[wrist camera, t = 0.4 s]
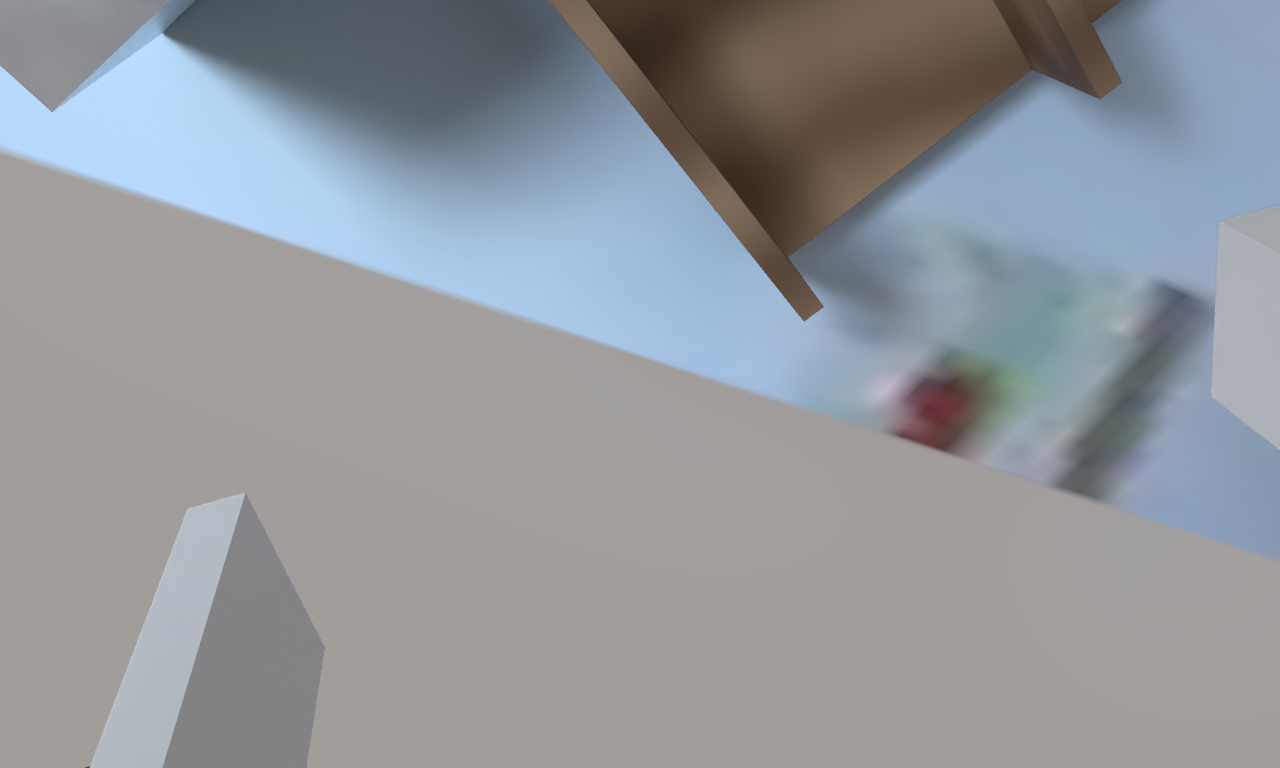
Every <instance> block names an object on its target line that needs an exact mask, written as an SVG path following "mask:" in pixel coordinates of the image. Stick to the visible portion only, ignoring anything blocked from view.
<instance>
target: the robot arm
mask: <svg viewBox="0 0 1280 768" xmlns="http://www.w3.org/2000/svg"><path fill="white" fill-rule="evenodd" d="M1211 397H1212V398H1213V399H1214V400H1216V401H1217V402H1218V403H1220V404H1221V405H1222V406H1223V407H1225V408H1226V409H1227V410H1228V411H1230V412H1231V413H1232V414H1234V415H1235V416H1236V417H1237V418H1239V419H1240V420H1241V421H1243V422H1244V423H1245V424H1246V425H1248V426H1249V427H1250V428H1251V429H1253V430H1254V431H1255V432H1257V433H1258V434H1259V435H1260V436H1262V437H1263V438H1264V439H1266V440H1267V441H1268V442H1269V443H1271V444H1272V445H1273V446H1275V447H1276V448H1277V449H1278V450H1280V208H1279V207H1277V206H1275V205H1274V206H1271V207H1267V208H1264V209H1260V210H1256V211H1253V212H1249V213H1246V214H1242V215H1239V216H1235V217H1231V218H1228V219H1224V220H1221V221H1219V234H1218V255H1217V277H1216V298H1215V319H1214V341H1213V362H1212V384H1211ZM324 649H325V647H324V645H323V643H322V641H321V639H320V637H319V635H318V633H317V631H316V629H315V627H314V625H313V623H312V621H311V619H310V617H309V615H308V613H307V612H306V609H305V608H304V606H303V604H302V602H301V600H300V598H299V596H298V594H297V592H296V590H295V588H294V586H293V584H292V582H291V580H290V578H289V576H288V574H287V572H286V571H285V568H284V566H283V564H282V563H281V561H280V559H279V557H278V555H277V553H276V551H275V549H274V547H273V545H272V543H271V541H270V539H269V537H268V535H267V533H266V531H265V529H264V527H263V525H262V523H261V521H260V519H259V518H258V516H257V514H256V512H255V510H254V508H253V506H252V504H251V502H250V500H249V498H248V496H247V494H246V493H242V494H238V495H235V496H231V497H228V498H224V499H221V500H217V501H213V502H210V503H207V504H203V505H199V506H196V507H192V508H188V509H187V512H186V514H185V517H184V520H183V522H182V525H181V528H180V530H179V533H178V536H177V538H176V541H175V543H174V546H173V549H172V551H171V554H170V557H169V559H168V562H167V565H166V567H165V570H164V572H163V575H162V578H161V580H160V583H159V586H158V589H157V591H156V594H155V596H154V599H153V602H152V604H151V607H150V610H149V612H148V615H147V617H146V620H145V623H144V626H143V628H142V631H141V633H140V636H139V639H138V641H137V644H136V646H135V649H134V652H133V654H132V657H131V660H130V662H129V665H128V668H127V670H126V673H125V676H124V678H123V681H122V684H121V686H120V689H119V691H118V694H117V697H116V700H115V702H114V705H113V707H112V710H111V713H110V715H109V718H108V721H107V723H106V726H105V729H104V731H103V734H102V737H101V739H100V742H99V744H98V747H97V750H96V752H95V755H94V758H93V760H92V763H91V765H90V767H86V768H306V767H307V760H308V753H309V747H310V741H311V734H312V728H313V721H314V715H315V708H316V701H317V695H318V688H319V682H320V675H321V669H322V662H323V656H324Z"/></svg>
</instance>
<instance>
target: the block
mask: <svg viewBox="0 0 1280 768" xmlns="http://www.w3.org/2000/svg"><path fill="white" fill-rule="evenodd" d="M195 1H196V0H0V66H1V67H3V68H4V69H5V70H6V71H7V72H8V73H9V74H10V75H11V76H13V77H14V78H15V79H16V80H17V81H18V82H19V83H20V84H21V85H23V86H24V87H25V88H26V89H27V90H28V91H29V92H30V93H31V94H33V95H34V96H35V97H36V98H37V99H38V100H39V101H40V102H41V103H43V104H44V105H45V106H46V107H47V108H48V109H49V110H50V111H51V112H53V111H54V110H56V109H57V108H58V107H60V106H61V105H63V104H64V103H65V102H67V101H68V100H70V99H71V98H72V97H74V96H75V95H77V94H78V93H79V92H81V91H82V90H84V89H85V88H86V87H88V86H89V85H91V84H92V83H93V82H95V81H96V80H97V79H99V78H100V77H102V76H103V75H104V74H106V73H107V72H109V71H110V70H111V69H113V68H114V67H116V66H117V65H118V64H120V63H121V62H123V61H124V60H125V59H127V58H128V57H130V56H131V55H132V54H134V53H135V52H137V51H138V50H139V49H141V48H142V47H144V46H145V45H146V44H148V43H149V42H150V41H152V40H153V39H155V38H156V37H157V36H159V35H160V34H161V33H162V32H163V31H164V30H165V29H166V28H167V27H169V26H170V25H171V24H172V23H173V22H174V21H175V20H176V19H177V18H178V17H179V16H180V15H181V14H182V13H183V12H184V11H185V10H187V9H188V8H189V7H190V6H191V5H192V4H193V3H194V2H195Z"/></svg>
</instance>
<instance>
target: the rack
mask: <svg viewBox="0 0 1280 768" xmlns="http://www.w3.org/2000/svg"><path fill="white" fill-rule="evenodd" d="M549 1H550V2H551V4H552V5H553V6H554V7H555V9H556V10H557V11H558V12H559V14H560V15H561V16H562V17H563V19H564V20H565V21H566V22H567V24H568V25H569V26H570V28H571V29H572V30H573V31H574V33H575V34H576V35H577V36H578V38H579V39H580V40H581V41H582V43H583V44H584V45H585V46H586V48H587V49H588V50H589V51H590V53H591V54H592V55H593V56H594V58H595V59H596V60H597V62H598V63H599V64H600V65H601V67H602V68H603V69H604V70H605V72H606V73H607V74H608V75H609V77H610V78H611V79H612V80H613V82H614V83H615V84H616V85H617V87H618V88H619V89H620V90H621V92H622V93H623V94H624V96H625V97H626V98H627V99H628V101H629V102H630V103H631V104H632V106H633V107H634V108H635V109H636V111H637V112H638V113H639V114H640V116H641V117H642V118H643V119H644V121H645V122H646V123H647V124H648V126H649V127H650V128H651V129H652V131H653V132H654V133H655V135H656V136H657V137H658V138H659V140H660V141H661V142H662V143H663V145H664V146H665V147H666V148H667V150H668V151H669V152H670V153H671V155H672V156H673V157H674V158H675V160H676V161H677V162H678V163H679V165H680V166H681V167H682V169H683V170H684V171H685V172H686V174H687V175H688V176H689V177H690V179H691V180H692V181H693V182H694V184H695V185H696V186H697V187H698V189H699V190H700V191H701V192H702V194H703V195H704V196H705V197H706V199H707V200H708V201H709V203H710V204H711V205H712V206H713V208H714V209H715V210H716V211H717V213H718V214H719V215H720V216H721V218H722V219H723V220H724V221H725V223H726V224H727V225H728V226H729V228H730V229H731V230H732V231H733V233H734V234H735V235H736V237H737V238H738V239H739V240H740V242H741V243H742V244H743V245H744V247H745V248H746V249H747V250H748V252H749V253H750V254H751V255H752V257H753V258H754V259H755V260H756V262H757V263H758V264H759V265H760V267H761V268H762V269H763V271H764V272H765V273H766V274H767V276H768V277H769V278H770V279H771V281H772V282H773V283H774V284H775V286H776V287H777V288H778V289H779V291H780V292H781V293H782V294H783V296H784V297H785V298H786V299H787V301H788V302H789V303H790V305H791V306H792V307H793V308H794V310H795V311H796V312H797V313H798V315H799V316H800V317H801V318H802V320H803V321H805V320H807V319H808V318H809V317H811V316H812V315H813V314H815V313H816V312H817V311H819V310H820V309H821V308H823V307H824V306H823V305H822V304H821V302H820V301H819V300H818V298H817V297H816V295H815V294H814V293H813V291H812V290H811V289H810V287H809V286H808V285H807V283H806V282H805V281H804V279H803V278H802V276H801V275H800V274H799V272H798V271H797V270H796V268H795V267H794V266H793V264H792V263H791V262H790V260H789V259H788V258H787V257H788V256H790V255H791V254H792V253H794V252H795V251H796V250H797V249H799V248H800V247H801V246H803V245H804V244H805V243H807V242H808V241H809V240H810V239H812V238H813V237H814V236H816V235H817V234H818V233H820V232H821V231H822V230H823V229H825V228H826V227H827V226H829V225H830V224H831V223H833V222H834V221H835V220H836V219H838V218H839V217H840V216H842V215H843V214H844V213H846V212H847V211H848V210H849V209H851V208H852V207H853V206H855V205H856V204H857V203H859V202H860V201H861V200H862V199H864V198H865V197H866V196H868V195H869V194H870V193H872V192H873V191H874V190H875V189H877V188H878V187H879V186H881V185H882V184H883V183H885V182H886V181H887V180H888V179H890V178H891V177H892V176H894V175H895V174H896V173H898V172H899V171H900V170H901V169H903V168H904V167H905V166H907V165H908V164H909V163H911V162H912V161H913V160H914V159H916V158H917V157H918V156H920V155H921V154H922V153H924V152H925V151H926V150H927V149H929V148H930V147H931V146H933V145H934V144H935V143H937V142H938V141H939V140H940V139H942V138H943V137H944V136H946V135H947V134H948V133H950V132H951V131H952V130H953V129H955V128H956V127H957V126H959V125H960V124H961V123H963V122H964V121H965V120H966V119H968V118H969V117H970V116H972V115H973V114H974V113H975V112H977V111H978V110H979V109H981V108H982V107H983V106H985V105H986V104H987V103H988V102H990V101H991V100H992V99H994V98H995V97H996V96H998V95H999V94H1000V93H1001V92H1003V91H1004V90H1005V89H1007V88H1008V87H1009V86H1011V85H1012V84H1013V83H1014V82H1016V81H1017V80H1018V79H1020V78H1021V77H1022V76H1024V75H1025V74H1026V73H1027V72H1029V71H1030V70H1031V69H1033V70H1035V71H1038V72H1040V73H1042V74H1044V75H1047V76H1049V77H1051V78H1053V79H1056V80H1058V81H1060V82H1062V83H1065V84H1067V85H1069V86H1072V87H1074V88H1076V89H1078V90H1081V91H1083V92H1085V93H1087V94H1090V95H1092V96H1094V97H1096V98H1099V99H1100V98H1102V97H1103V96H1104V95H1106V94H1107V93H1108V92H1110V91H1111V90H1112V89H1114V88H1115V87H1116V86H1118V85H1119V84H1120V83H1122V81H1121V79H1120V77H1119V75H1118V73H1117V71H1116V70H1115V68H1114V66H1113V64H1112V62H1111V60H1110V58H1109V56H1108V54H1107V52H1106V50H1105V49H1104V47H1103V45H1102V43H1101V41H1100V39H1099V37H1098V35H1097V33H1096V31H1095V29H1094V27H1093V26H1092V24H1091V23H1092V22H1094V21H1095V20H1096V19H1098V18H1099V17H1100V16H1102V15H1103V14H1104V13H1105V12H1107V11H1108V10H1109V9H1111V8H1112V7H1113V6H1115V5H1116V4H1117V3H1118V2H1120V1H1121V0H549Z"/></svg>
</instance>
